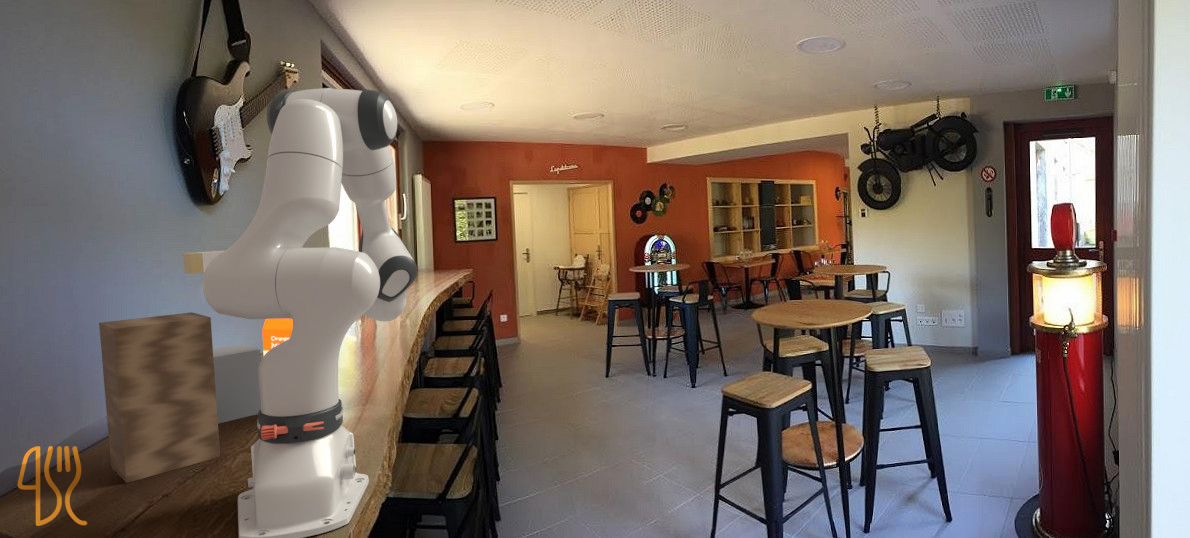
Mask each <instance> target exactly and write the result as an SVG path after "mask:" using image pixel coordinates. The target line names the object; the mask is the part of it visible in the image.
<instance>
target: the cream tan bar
mask: <svg viewBox="0 0 1190 538" xmlns="http://www.w3.org/2000/svg"><path fill="white" fill-rule="evenodd" d="M224 251H225V250H213V251H197V252H182V259H183V270H184V273H186V274H191V275H194V274H202V273H203V274H204V273H205V270H206V268H207V266H208V265H209V263H210V262H211V261H212V260H213V259H214V258H215V257H216V256H217V255H219V254H221V253H222V252H224Z"/></svg>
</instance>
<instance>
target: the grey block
mask: <svg viewBox="0 0 1190 538" xmlns="http://www.w3.org/2000/svg"><path fill="white" fill-rule="evenodd" d="M213 359H214V374H215V388H216V403H217V417H218V425H219V424H222V423H226V422H231V421H236V420H239V419H242V418H243V419H244V418H248V417H252V416H257V415H258V412H259V410H260V409H261V404H260V389H259V373H258V367H259V364H260V362H261V360H262V354H261V349H260V348H256V347H253V346H251V345H247V344H245V343H244V344H243V343H242V344H236V345H235V344H234V345H228V346H221V347H216V348H215V347H213Z"/></svg>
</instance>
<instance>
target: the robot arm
mask: <svg viewBox="0 0 1190 538" xmlns="http://www.w3.org/2000/svg"><path fill="white" fill-rule="evenodd" d="M397 115H398V114H397V112H396V109H395V106H394V102H392V99H390V98H389V97H388V96H387V94H385V93H384V92H382V91H378V90H373V89H367V88H366V89H363V90H359V89H358V90H357V89H345V88H332V87H331V88H330V87H323V88H322V87H321V88H311V89H302V90H297V89H291V90H286V91H282V92H279V93H277V94H275V96H273V98H272V99H270V102H269V103H268V105H267V108H266V121H267V122H266V123H267V127H268V130H269V132H270V134H271V137H270V141H269V144H268V145H269V146H268V151H267V158H266V166H265V174H264V180H263V187H262V193H261V197H260V202H259V205H258V208H257V211H256V213H255V215H254V217H253V219H252V221H251V222H250V224H249V225H248V227H247V228H246V230H245V231H244V232H243V233H242V235H240V237H239V238H238V239H237V240H236V241H235V242H234V243H233V244H232V245H231V246H229V247H228V248H227V249H226V250H223V251H224V252H222V253H221V254H219V255H217V256H216V257H215V258H214V259H213V260H212V261H211V262H210V263H209V265H208V266H207V268H206V270H205V273H203V277H202V291H203V294H204V298H205V299H206V302H207V303H208V305H209V306H210V307H211V309H213V311H214V312H216V313H217V314H220V315H226V316H229V317H234V318H241V319H245V320H246V319H248V320H265V319H292V320H293V329H292V333H291V336H290V338H289V339H288V340H286V341H284V342H282V343H280V344H278V345H277V346H275V347H273V348H272V349H270V350H269V351H268V352H267V353H266V354H265V355H264V354H263V357H261V362H260V364H259V367H258V373H259V389H260V404H261V409H260V410H259V412H258V414H257V419H256V421H257V423H256V426H257V437H258V439H257V440H256V441H255V442H254V443H253V444H252V445H251V446H250V452H251V453H250V455H251V465H252V467H251V469H252V477H248V478H247V480H246V486H247V487H248V488H251V489H248V490H245V491H244V492H241V493H240V494H238V496H237V524H238V526H237V527H238V538H307V537H311V536H315V535H320V534H324V533H327V532H329V531H330V532H331V531H334V530H336V529H339V528H342V527H343V526H346V525H347V524H349V522H351V519H352V517H353V515H354V514H355V511H356V509H357V508H358V506H359V504H360V502H361V499H362V497H363V496H364V493H365V492H366V489H367V487H368V485H369V483H370V479H369V475H367V474H364V473H359V472H357V466H356V465H357V464H356V448H355V440H354V439H355V438H354V437H355V436H354V433H353V432H351V431H350V430H348V429H347V428H346V427H344V425H343V422H344V417H343V414H344V409H343V408H344V407H343V405H342V403H343V402H342V399H340V397H339V396H340V395H339V359H340V358H339V357H340V351H341V347H342V344H343V342H344V339H345V338H346V335H347V334H348V332H349V329H350V328H351V327H352V326H353V324H355V322H356V321H357V320H358V319H359V318H360V317H361V316H362V317H366V318H369V319H371V320H374V321H377V322H378V321H379V322H385V323H386V322H391V321H393V320H396V319H397V318H399V316H401V315H402V313H403V312H404V310H405V308H406V306H407V295H408V291H409V289H410V287H411V286H412V284H413V283H414V282H415V281H416V279H417V277H418V276H417V275H418V266H417V264H416V262H415V260H414V258H413V256H412V255H411V254H410V252H409V251H408V249H407V247H406V245H405V244H404V241H403V240H402V238H401V237H400V235H399V233H398V232H397V231H396V230H395V229H394V228H393V227H392V225H391V223H390V219H389V215H388V210H387V209H388V208H387V206H386V200H388V199H390V197H391V196H392V195H393V194H394V193H395V191H396V190H397V174H396V167H395V162H394V159H393V155H392V151H391V148H390V145H391V144H392V143H393V141H394V140H395V139H396V137H397V132H398V117H397ZM342 187H343V189H344V191H345V193H346V195H347V197H348V198H349V200H351V202H353V203H354V205H355V209H356V212H357V216H358V219H359V224H360V228H361V233H360V234H361V235H360V239H359V244H358V250H359V251H358V250H353V249H348V248H341V247H336V246H335V247H333V246H332V247H304V245H305V243H306V242H307V240H308V239H309V238H310V237H312V235H313V234H315V232H316V233H317V231H319V230H321V229H323V228H325V227H327V226H329V225H330V224H332V222H333V221H335V219H336V217H337V215H339V214H338V213H339V211H340V201H341V192H342V191H341V190H342Z"/></svg>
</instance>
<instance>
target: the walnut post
mask: <svg viewBox="0 0 1190 538" xmlns="http://www.w3.org/2000/svg"><path fill="white" fill-rule="evenodd" d="M211 318H212V317H210V316H207V315H203V314H199V313H197V312H196V313H195V312H185V313H184V312H183V313H176V314H175V313H174V314H166V315H158V316H157V315H156V316H146V317H140V318H138V317H137V318H130V319H129V318H128V319H120V320H112V321H111V320H110V321H103V322H98V326H99V338H100V350H101V351H100V352H101V361H102V375H103V385H104V396H105V397H104V399H105V409H106V420H107V421H106V422H107V435H108V444H109V445H108V446H109V456H110V467H111V466H112V468H113V469H114V470H115V471H116V472H117V473H116V472H115V471H114V470H113V469H112V468H111V469H112V470H113V471H114V472H115V473H116V474H117V475H118V476H119V477H120V478H121V479H122V480H123V481H124V483H126V484H128V483H131V482H135V481H138V480H143V479H146V478H148V477H153V476H156V475H159V474H164V473H167V472H170V471H174V470H178V469H181V468H186V467H189V466H192V465H195V464H198V463H199V464H200V463H203V462H207V461H211V460H214V459H218V458H220V457H221V449H220V447H221V446H220V435H219V433H220V431H219V424H218V417H217V403H216V388H215V374H214V359H213V349H214V347H213V333H212V332H213V331H212V320H211Z"/></svg>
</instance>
